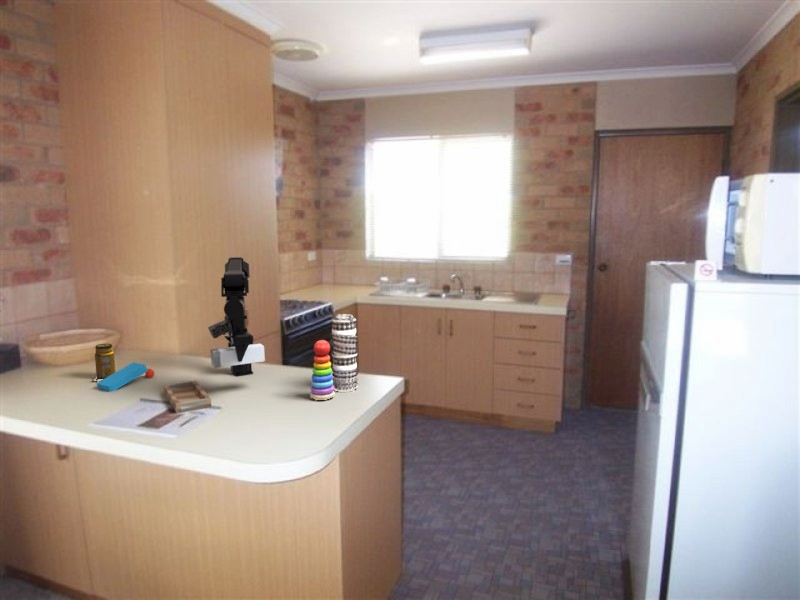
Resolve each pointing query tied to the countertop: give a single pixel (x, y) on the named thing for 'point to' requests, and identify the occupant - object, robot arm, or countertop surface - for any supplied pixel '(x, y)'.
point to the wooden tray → (187, 396)
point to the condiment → (104, 361)
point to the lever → (124, 376)
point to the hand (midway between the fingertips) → (238, 359)
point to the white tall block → (229, 356)
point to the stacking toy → (322, 373)
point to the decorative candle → (344, 352)
